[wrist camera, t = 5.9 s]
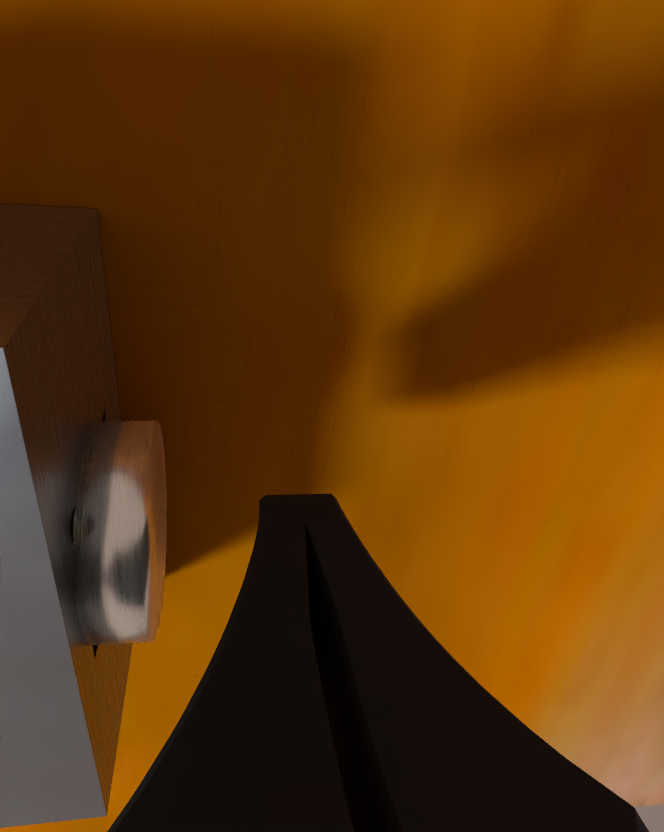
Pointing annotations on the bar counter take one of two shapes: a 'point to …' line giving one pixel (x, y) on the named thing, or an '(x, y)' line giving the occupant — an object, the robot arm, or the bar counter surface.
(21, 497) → the block
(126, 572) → the lynch pin
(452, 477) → the bar counter surface
